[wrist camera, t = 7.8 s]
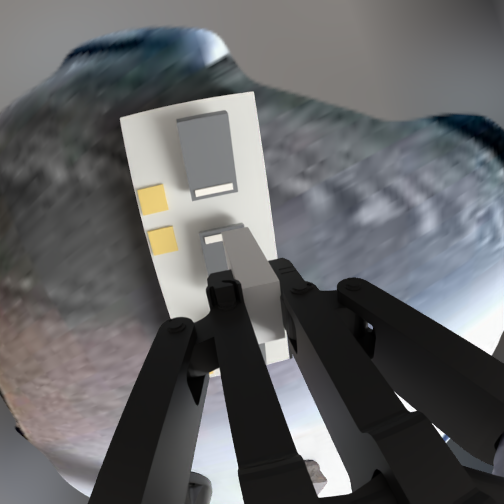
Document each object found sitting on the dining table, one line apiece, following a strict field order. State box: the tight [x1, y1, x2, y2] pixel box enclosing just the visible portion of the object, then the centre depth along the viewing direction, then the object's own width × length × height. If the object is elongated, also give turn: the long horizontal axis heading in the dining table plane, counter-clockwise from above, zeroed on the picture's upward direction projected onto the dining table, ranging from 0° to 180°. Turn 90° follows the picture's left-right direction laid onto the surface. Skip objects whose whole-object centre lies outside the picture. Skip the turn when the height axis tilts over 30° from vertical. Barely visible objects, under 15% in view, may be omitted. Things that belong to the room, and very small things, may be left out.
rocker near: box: [176, 110, 238, 201], centre depth 25 cm, size 4×7×2 cm, turn 9°
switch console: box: [120, 92, 289, 377], centre depth 33 cm, size 12×30×6 cm, turn 9°
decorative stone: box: [304, 460, 327, 495], centre depth 56 cm, size 15×7×10 cm
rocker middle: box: [199, 223, 244, 277], centre depth 29 cm, size 4×7×2 cm, turn 9°
